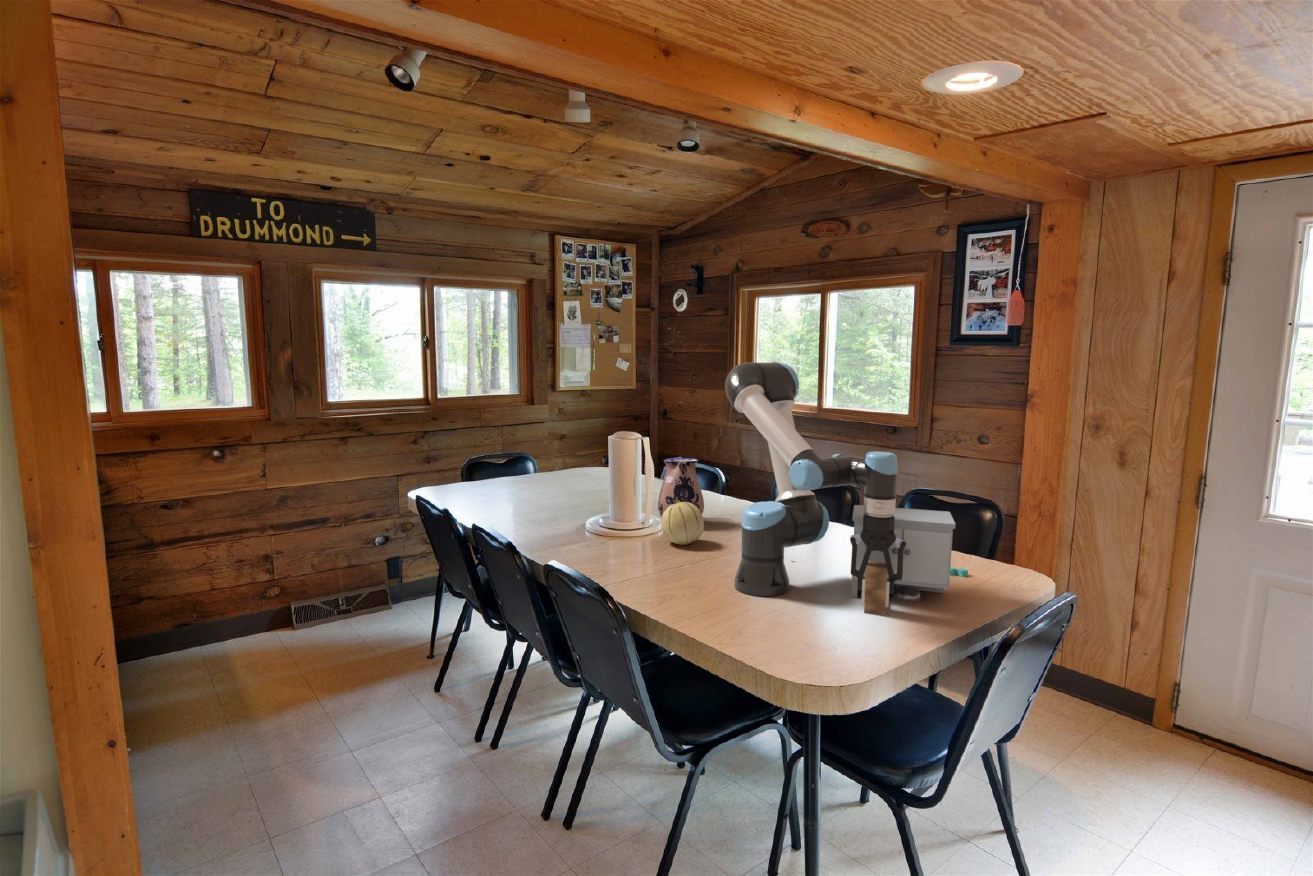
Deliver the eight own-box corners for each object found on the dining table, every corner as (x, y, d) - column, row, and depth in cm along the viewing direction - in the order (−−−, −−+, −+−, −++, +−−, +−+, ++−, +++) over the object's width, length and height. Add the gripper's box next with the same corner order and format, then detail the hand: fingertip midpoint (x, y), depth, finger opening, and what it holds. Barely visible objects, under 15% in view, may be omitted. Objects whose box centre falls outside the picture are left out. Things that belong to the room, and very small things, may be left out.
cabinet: (848, 599, 182) (852, 517, 179) (851, 580, 197) (854, 504, 194) (950, 610, 174) (956, 525, 171) (944, 590, 189) (949, 511, 187)
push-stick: (864, 612, 172) (866, 566, 171) (865, 587, 191) (867, 545, 190) (884, 615, 171) (887, 568, 169) (884, 589, 190) (886, 547, 188)
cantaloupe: (701, 550, 226) (702, 506, 224) (658, 548, 228) (658, 504, 227) (705, 539, 241) (706, 497, 239) (664, 537, 243) (664, 495, 241)
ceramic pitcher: (663, 530, 252) (664, 463, 249) (652, 517, 272) (652, 455, 269) (709, 529, 255) (710, 462, 252) (694, 516, 276) (695, 454, 273)
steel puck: (892, 601, 181) (892, 593, 181) (891, 592, 188) (892, 585, 188) (920, 604, 179) (921, 596, 179) (919, 595, 186) (919, 588, 186)
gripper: (840, 514, 170) (837, 604, 173) (918, 520, 164) (913, 613, 167) (842, 508, 177) (838, 595, 180) (916, 513, 172) (912, 603, 174)
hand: (874, 603), depth 173 cm, fingers closed on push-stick, 5 cm apart
